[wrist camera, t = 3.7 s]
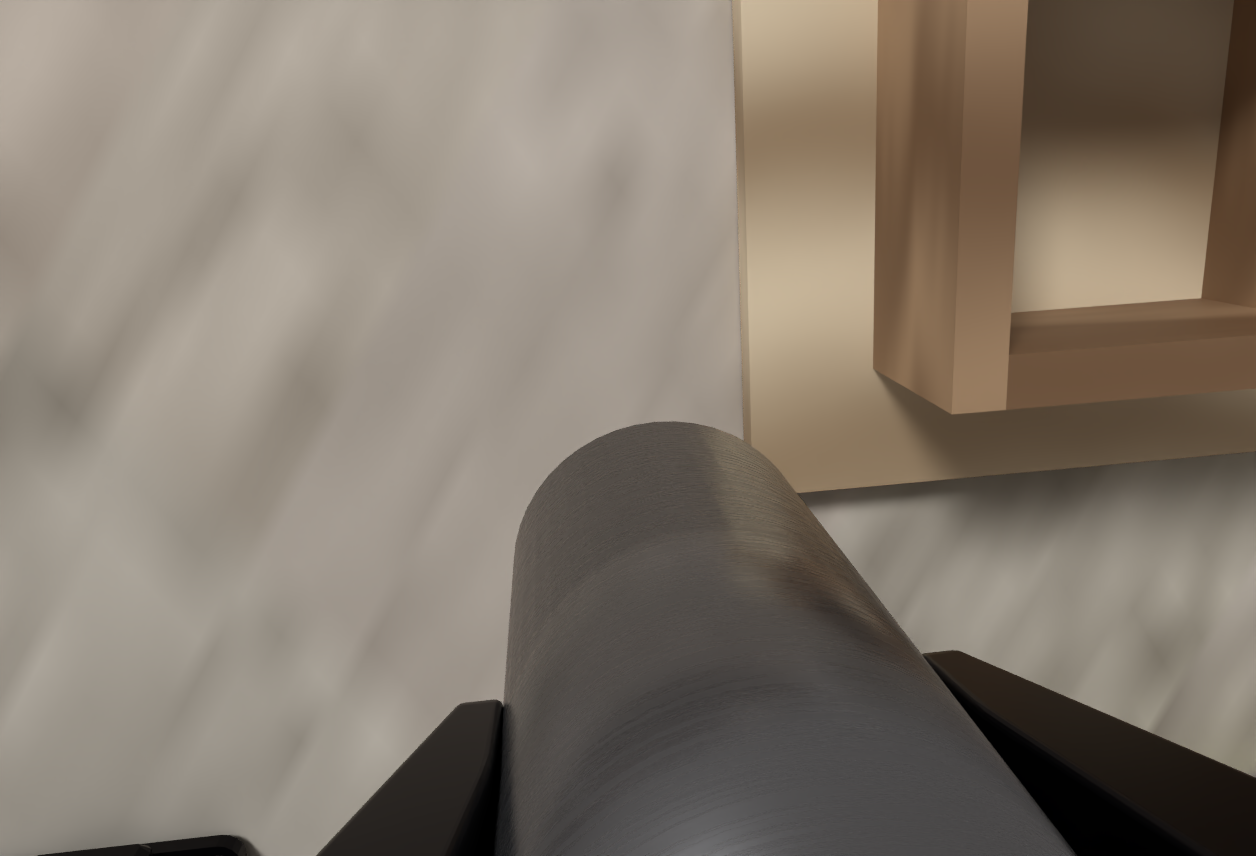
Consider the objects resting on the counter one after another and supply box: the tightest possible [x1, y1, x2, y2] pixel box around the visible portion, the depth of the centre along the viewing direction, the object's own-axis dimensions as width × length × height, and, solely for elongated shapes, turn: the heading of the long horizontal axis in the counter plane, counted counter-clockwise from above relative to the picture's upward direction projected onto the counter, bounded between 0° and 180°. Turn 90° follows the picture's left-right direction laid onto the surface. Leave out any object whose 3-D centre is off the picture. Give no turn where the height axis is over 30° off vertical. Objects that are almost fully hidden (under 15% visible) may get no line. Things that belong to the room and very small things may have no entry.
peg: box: [492, 422, 1077, 856], centre depth 8 cm, size 4×4×9 cm
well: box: [732, 0, 1256, 493], centre depth 18 cm, size 14×14×5 cm
